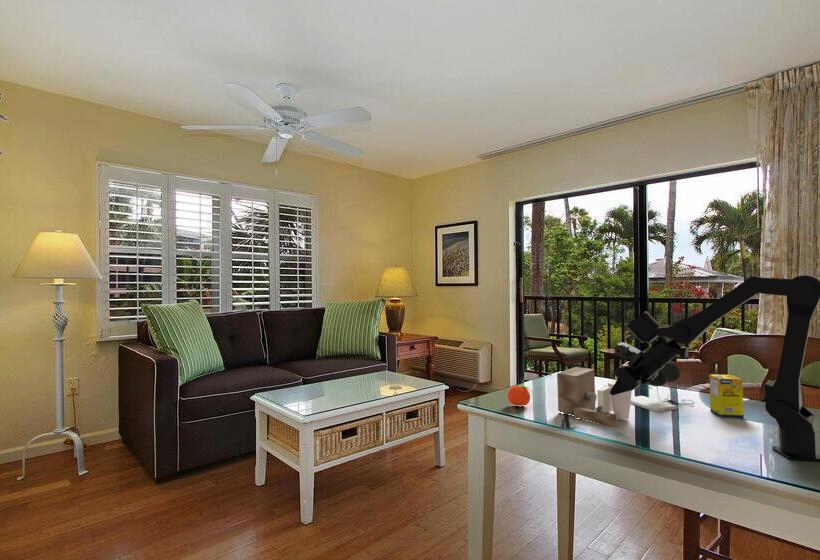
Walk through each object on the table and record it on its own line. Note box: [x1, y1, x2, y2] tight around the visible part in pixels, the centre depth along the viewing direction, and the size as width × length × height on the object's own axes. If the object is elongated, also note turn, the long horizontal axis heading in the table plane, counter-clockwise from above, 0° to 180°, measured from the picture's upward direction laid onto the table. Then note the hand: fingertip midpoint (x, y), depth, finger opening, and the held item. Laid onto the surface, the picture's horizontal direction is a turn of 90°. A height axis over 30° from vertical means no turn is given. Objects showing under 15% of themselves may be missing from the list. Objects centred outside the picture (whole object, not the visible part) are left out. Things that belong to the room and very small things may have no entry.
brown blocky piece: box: [556, 366, 618, 428], centre depth 126 cm, size 16×14×12 cm
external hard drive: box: [630, 395, 678, 413], centre depth 134 cm, size 2×8×12 cm
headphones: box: [647, 338, 694, 407], centre depth 136 cm, size 15×11×20 cm
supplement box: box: [708, 373, 745, 419], centre depth 123 cm, size 6×6×11 cm
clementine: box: [507, 384, 534, 406], centre depth 136 cm, size 8×7×7 cm
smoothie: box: [607, 380, 633, 421], centre depth 121 cm, size 6×6×14 cm
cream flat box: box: [595, 384, 613, 413], centre depth 123 cm, size 2×11×7 cm, turn 134°
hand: (615, 391), depth 122 cm, fingers closed on smoothie, 6 cm apart
